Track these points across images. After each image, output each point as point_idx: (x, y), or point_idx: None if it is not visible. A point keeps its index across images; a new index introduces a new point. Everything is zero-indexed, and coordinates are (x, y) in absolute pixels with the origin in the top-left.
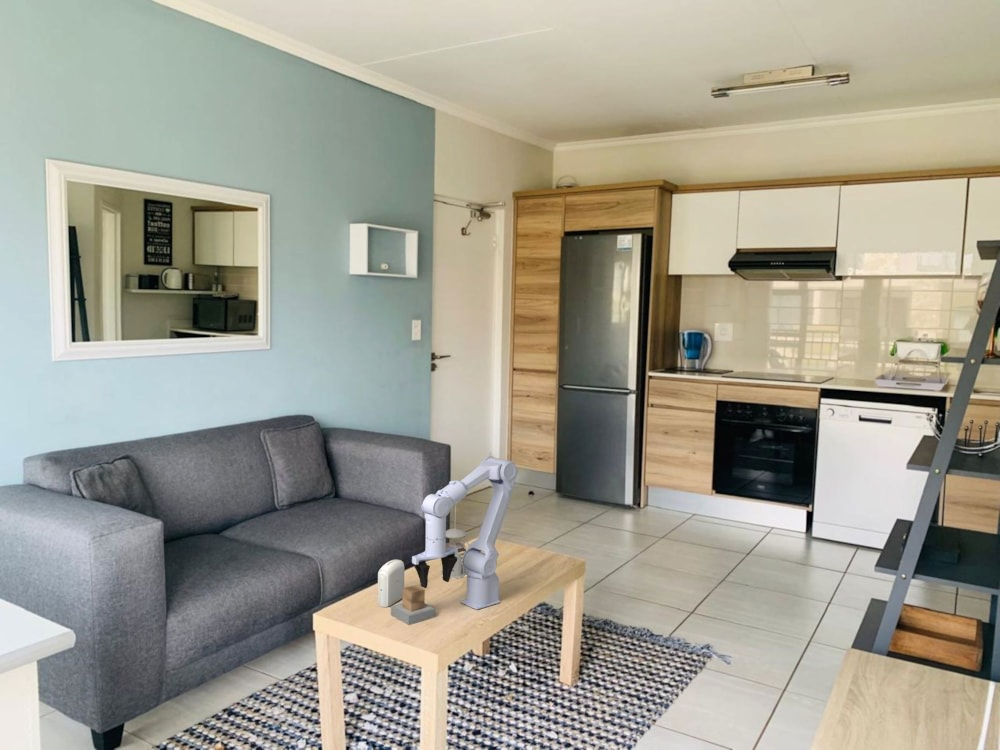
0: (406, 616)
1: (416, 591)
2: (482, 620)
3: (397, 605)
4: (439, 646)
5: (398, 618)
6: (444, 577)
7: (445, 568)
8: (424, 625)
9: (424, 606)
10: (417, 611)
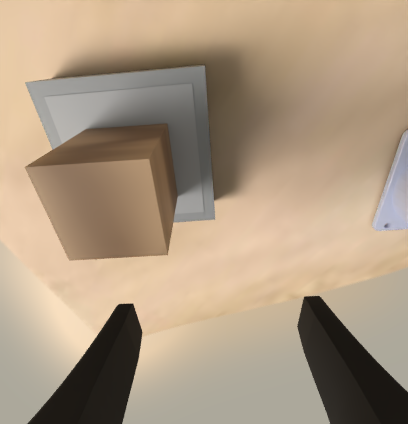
0: None
1: (106, 257)
2: (316, 284)
3: (65, 91)
4: None
5: None
6: (311, 329)
7: (349, 415)
8: None
9: (187, 181)
10: None
